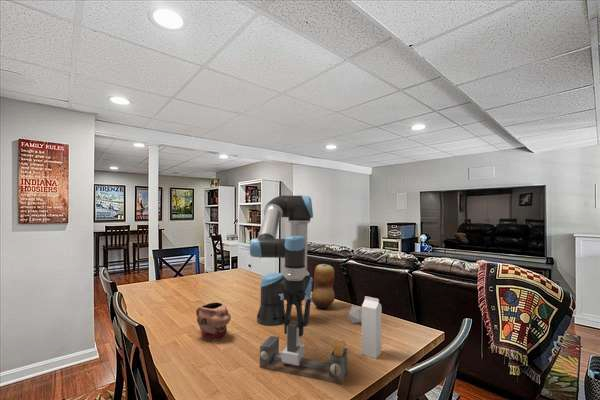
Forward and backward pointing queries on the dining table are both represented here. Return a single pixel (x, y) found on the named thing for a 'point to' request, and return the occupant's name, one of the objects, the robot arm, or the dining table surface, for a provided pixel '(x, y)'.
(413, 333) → the dining table surface
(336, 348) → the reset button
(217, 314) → the decorative planter
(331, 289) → the butternut squash
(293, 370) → the rail base
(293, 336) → the carriage
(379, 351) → the milk
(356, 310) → the die
